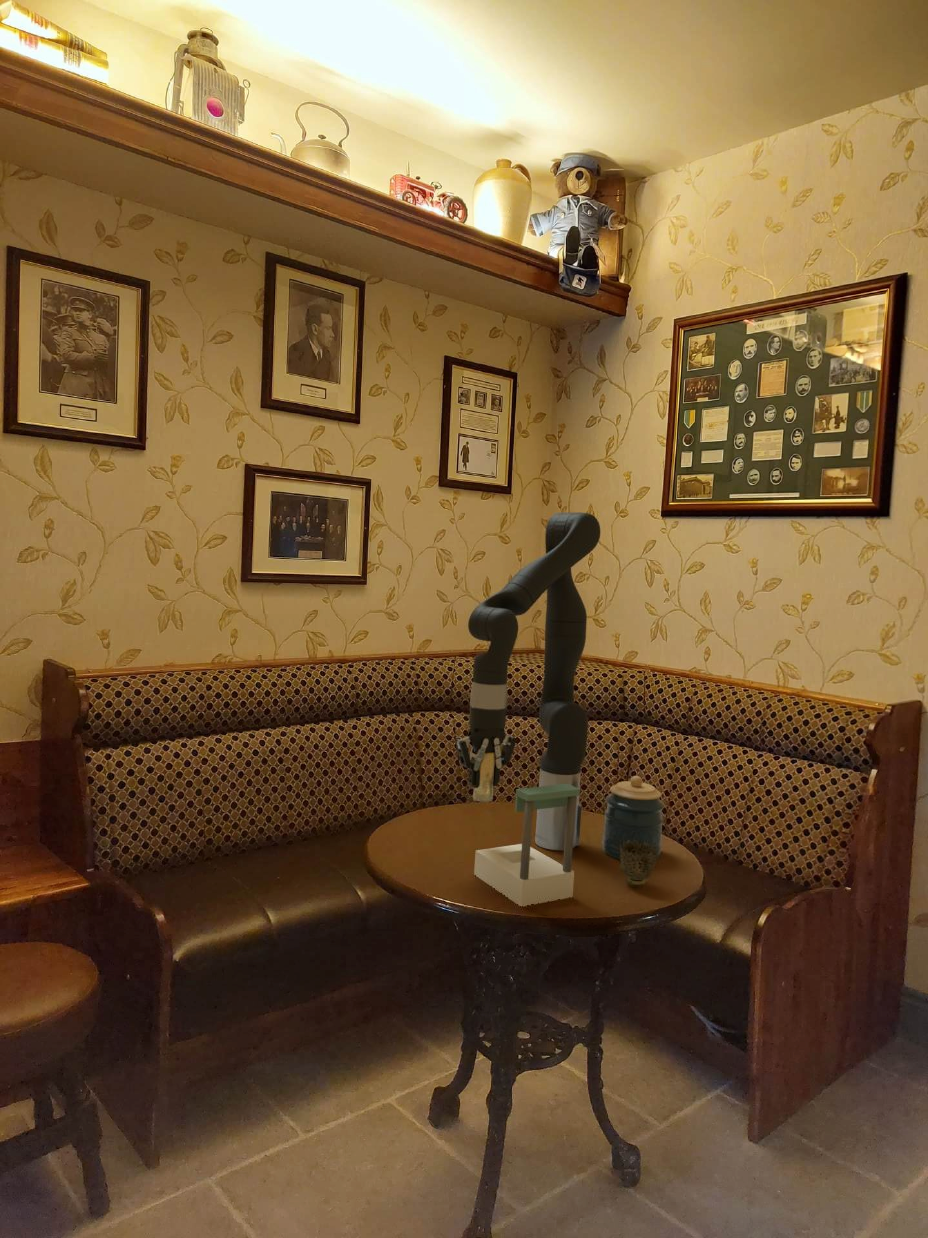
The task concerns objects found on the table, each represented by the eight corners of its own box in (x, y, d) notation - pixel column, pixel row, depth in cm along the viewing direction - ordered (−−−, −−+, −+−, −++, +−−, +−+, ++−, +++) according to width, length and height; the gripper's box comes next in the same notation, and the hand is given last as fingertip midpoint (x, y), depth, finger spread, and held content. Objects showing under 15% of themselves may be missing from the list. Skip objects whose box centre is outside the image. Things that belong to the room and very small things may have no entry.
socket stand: (523, 866, 177) (529, 767, 175) (572, 897, 162) (580, 789, 161) (474, 874, 171) (480, 772, 169) (520, 907, 156) (528, 795, 154)
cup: (628, 875, 175) (630, 837, 175) (660, 885, 171) (663, 847, 170) (610, 884, 170) (613, 846, 169) (643, 895, 165) (646, 855, 164)
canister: (666, 865, 183) (673, 785, 181) (607, 862, 183) (613, 782, 181) (653, 844, 196) (658, 770, 194) (597, 841, 196) (602, 767, 194)
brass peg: (486, 795, 177) (488, 748, 176) (496, 800, 173) (498, 753, 173) (469, 797, 175) (472, 749, 174) (479, 802, 171) (482, 754, 171)
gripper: (508, 700, 179) (503, 779, 181) (449, 702, 172) (444, 784, 174) (527, 706, 173) (522, 788, 174) (467, 709, 166) (462, 794, 167)
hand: (483, 785), depth 174 cm, fingers closed on brass peg, 4 cm apart
